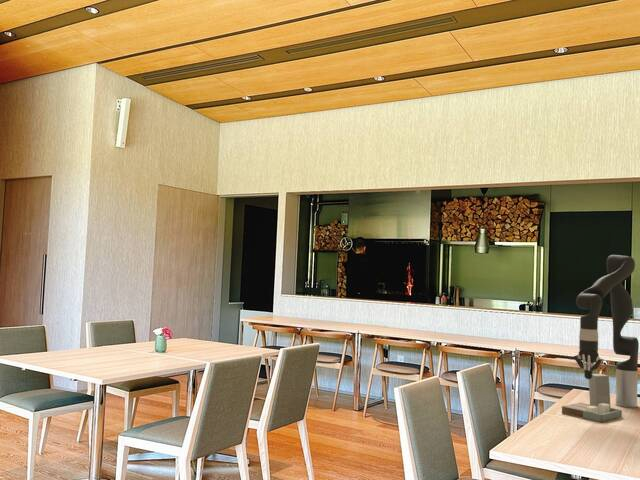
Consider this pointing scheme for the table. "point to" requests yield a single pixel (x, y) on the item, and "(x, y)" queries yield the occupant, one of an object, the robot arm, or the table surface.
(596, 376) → the skincare box
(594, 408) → the cream square block
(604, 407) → the tile
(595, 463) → the table surface
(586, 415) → the tray
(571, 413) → the walnut board
